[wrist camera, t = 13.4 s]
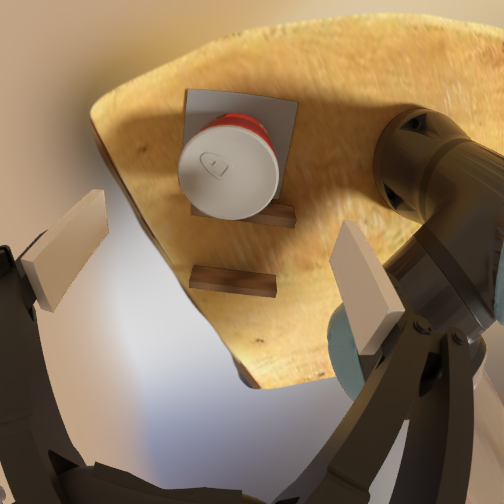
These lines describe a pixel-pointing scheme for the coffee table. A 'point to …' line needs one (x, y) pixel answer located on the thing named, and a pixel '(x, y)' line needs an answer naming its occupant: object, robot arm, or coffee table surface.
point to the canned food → (229, 167)
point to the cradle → (239, 279)
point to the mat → (259, 107)
